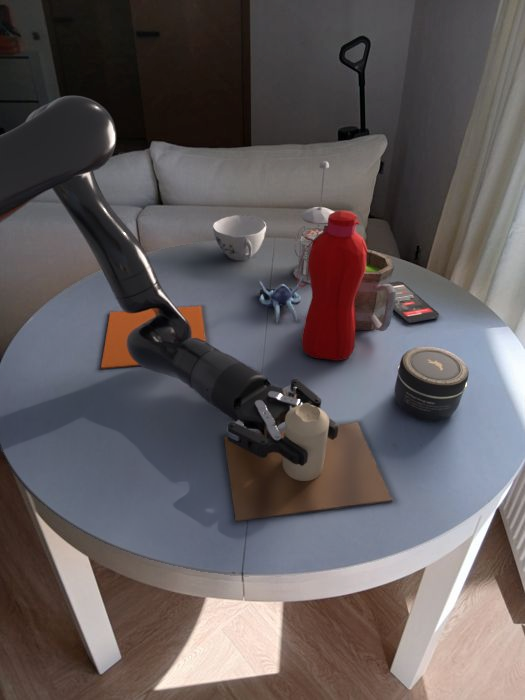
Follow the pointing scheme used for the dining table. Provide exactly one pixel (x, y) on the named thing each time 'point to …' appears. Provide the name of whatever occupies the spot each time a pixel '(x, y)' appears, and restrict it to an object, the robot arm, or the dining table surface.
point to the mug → (375, 294)
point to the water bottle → (334, 288)
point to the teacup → (239, 235)
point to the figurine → (280, 298)
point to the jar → (430, 383)
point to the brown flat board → (305, 496)
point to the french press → (311, 232)
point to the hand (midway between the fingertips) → (321, 445)
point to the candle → (307, 440)
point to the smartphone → (411, 304)
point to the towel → (127, 322)
